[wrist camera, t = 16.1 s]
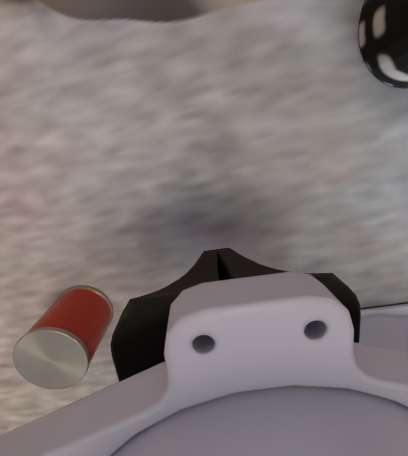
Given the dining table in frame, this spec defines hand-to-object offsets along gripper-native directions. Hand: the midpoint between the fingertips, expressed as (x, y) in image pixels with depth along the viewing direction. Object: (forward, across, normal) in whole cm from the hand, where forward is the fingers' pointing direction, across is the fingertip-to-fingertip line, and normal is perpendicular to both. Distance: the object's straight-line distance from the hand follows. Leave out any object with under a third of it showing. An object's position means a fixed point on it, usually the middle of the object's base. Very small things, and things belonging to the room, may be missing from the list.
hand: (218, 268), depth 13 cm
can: (+10, +12, +7) cm, 17 cm away
